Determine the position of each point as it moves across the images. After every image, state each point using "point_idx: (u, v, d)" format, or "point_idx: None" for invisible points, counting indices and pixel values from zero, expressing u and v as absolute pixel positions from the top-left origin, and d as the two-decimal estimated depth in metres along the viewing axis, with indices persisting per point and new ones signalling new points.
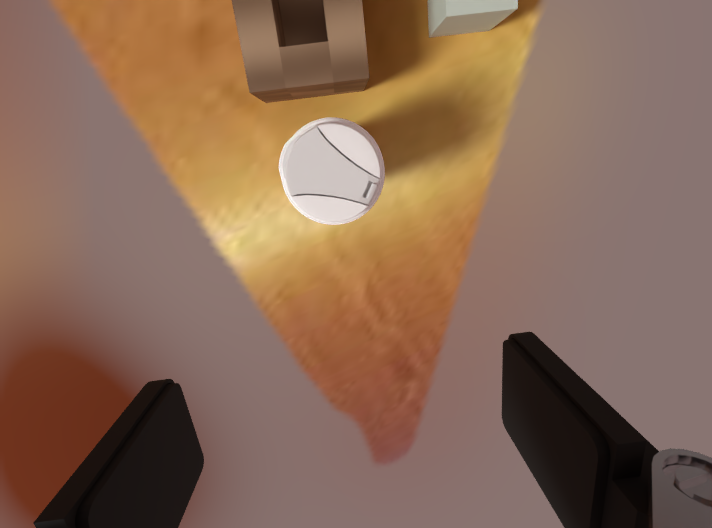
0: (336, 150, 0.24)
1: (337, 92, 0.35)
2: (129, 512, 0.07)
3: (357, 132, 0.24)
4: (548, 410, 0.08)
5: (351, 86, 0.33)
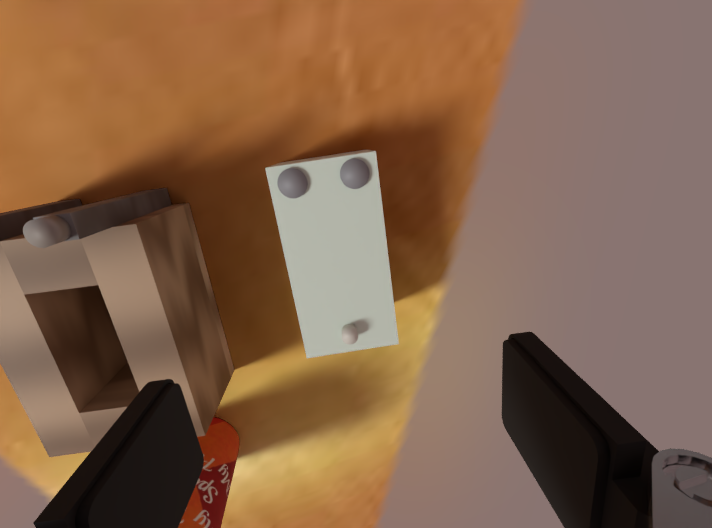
0: None
1: None
2: (129, 512, 0.07)
3: None
4: (548, 410, 0.08)
5: None
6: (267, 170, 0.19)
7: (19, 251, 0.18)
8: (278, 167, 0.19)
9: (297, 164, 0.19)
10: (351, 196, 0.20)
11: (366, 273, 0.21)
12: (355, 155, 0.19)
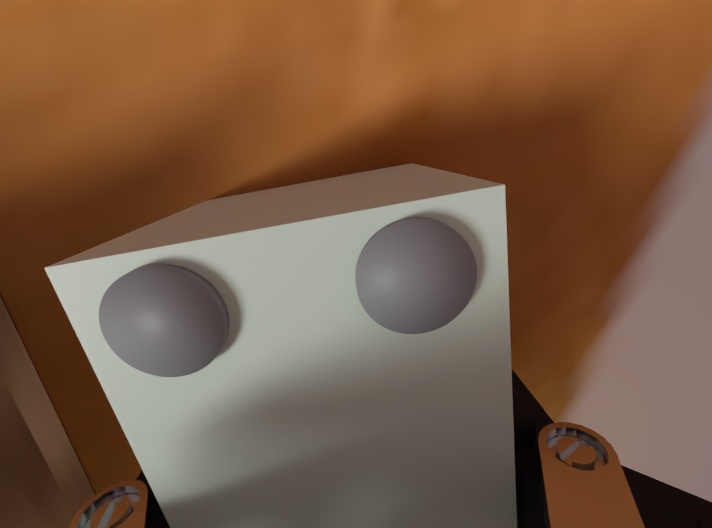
0: None
1: None
2: None
3: None
4: None
5: None
6: (57, 276, 0.05)
7: None
8: (101, 263, 0.05)
9: (179, 249, 0.05)
10: (400, 354, 0.05)
11: None
12: (419, 205, 0.05)
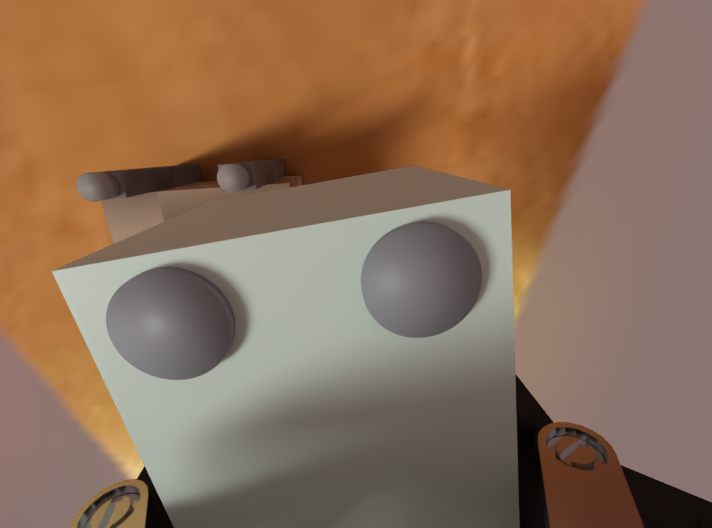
0: None
1: None
2: None
3: None
4: None
5: None
6: (64, 280, 0.05)
7: (174, 202, 0.19)
8: (108, 267, 0.05)
9: (186, 252, 0.05)
10: (405, 357, 0.05)
11: None
12: (425, 210, 0.05)
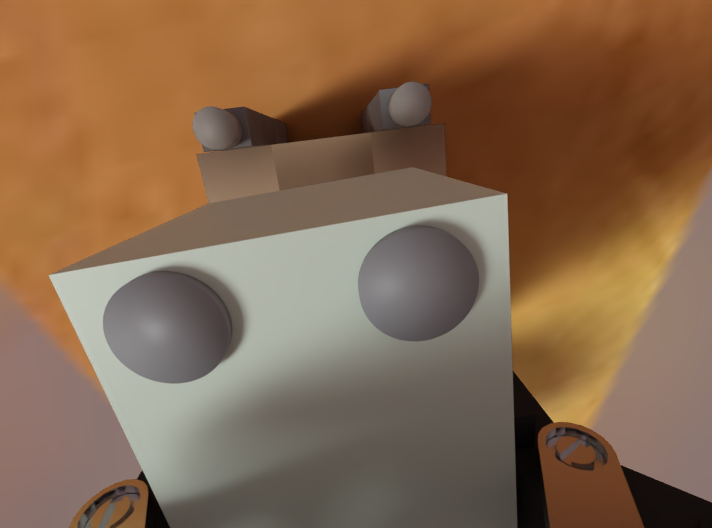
0: None
1: None
2: None
3: None
4: None
5: None
6: (61, 283, 0.05)
7: (292, 159, 0.14)
8: (105, 271, 0.05)
9: (183, 256, 0.05)
10: (402, 360, 0.05)
11: None
12: (422, 213, 0.05)
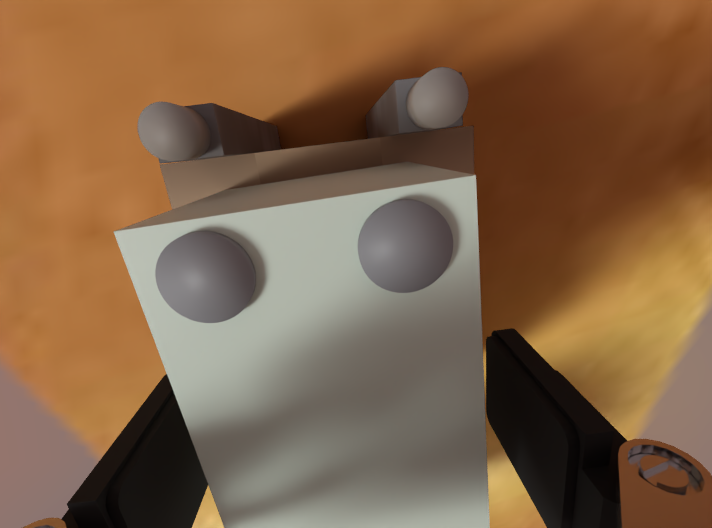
0: None
1: None
2: (153, 497, 0.07)
3: None
4: (526, 403, 0.08)
5: None
6: (123, 239, 0.06)
7: (281, 170, 0.11)
8: (158, 229, 0.06)
9: (220, 219, 0.06)
10: (392, 310, 0.06)
11: (424, 495, 0.08)
12: (409, 189, 0.06)
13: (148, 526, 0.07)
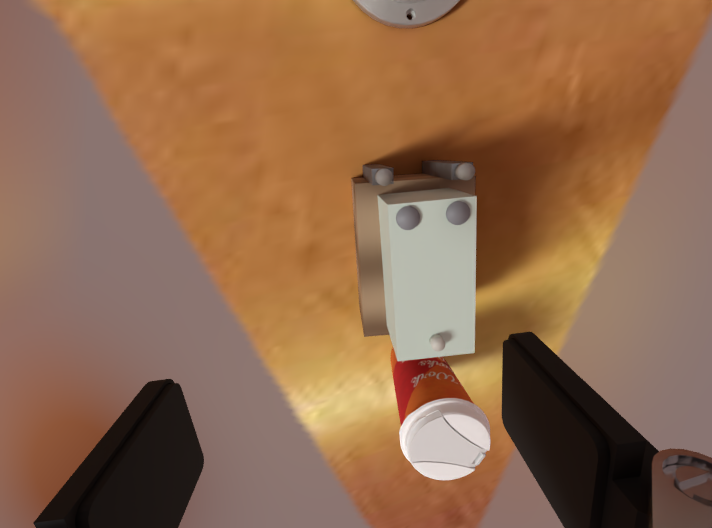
0: (456, 432, 0.28)
1: None
2: (129, 512, 0.07)
3: (475, 419, 0.28)
4: (548, 410, 0.08)
5: None
6: (389, 207, 0.24)
7: (400, 188, 0.29)
8: (398, 205, 0.24)
9: (413, 203, 0.24)
10: (452, 230, 0.24)
11: (456, 293, 0.26)
12: (460, 198, 0.24)
13: None
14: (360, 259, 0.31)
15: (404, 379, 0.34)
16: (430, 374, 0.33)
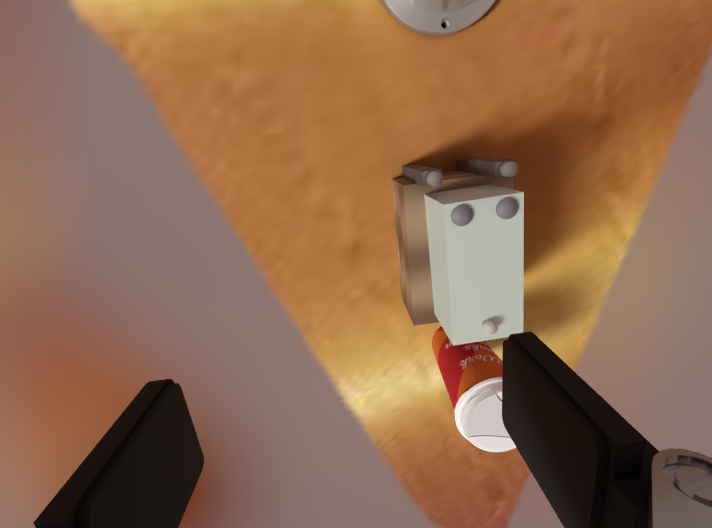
0: None
1: None
2: (129, 512, 0.07)
3: None
4: (548, 410, 0.08)
5: None
6: (444, 206, 0.26)
7: (445, 187, 0.32)
8: (452, 204, 0.26)
9: (466, 201, 0.26)
10: (502, 224, 0.27)
11: (505, 280, 0.28)
12: (508, 195, 0.26)
13: None
14: (409, 254, 0.33)
15: (452, 363, 0.37)
16: (477, 357, 0.35)
